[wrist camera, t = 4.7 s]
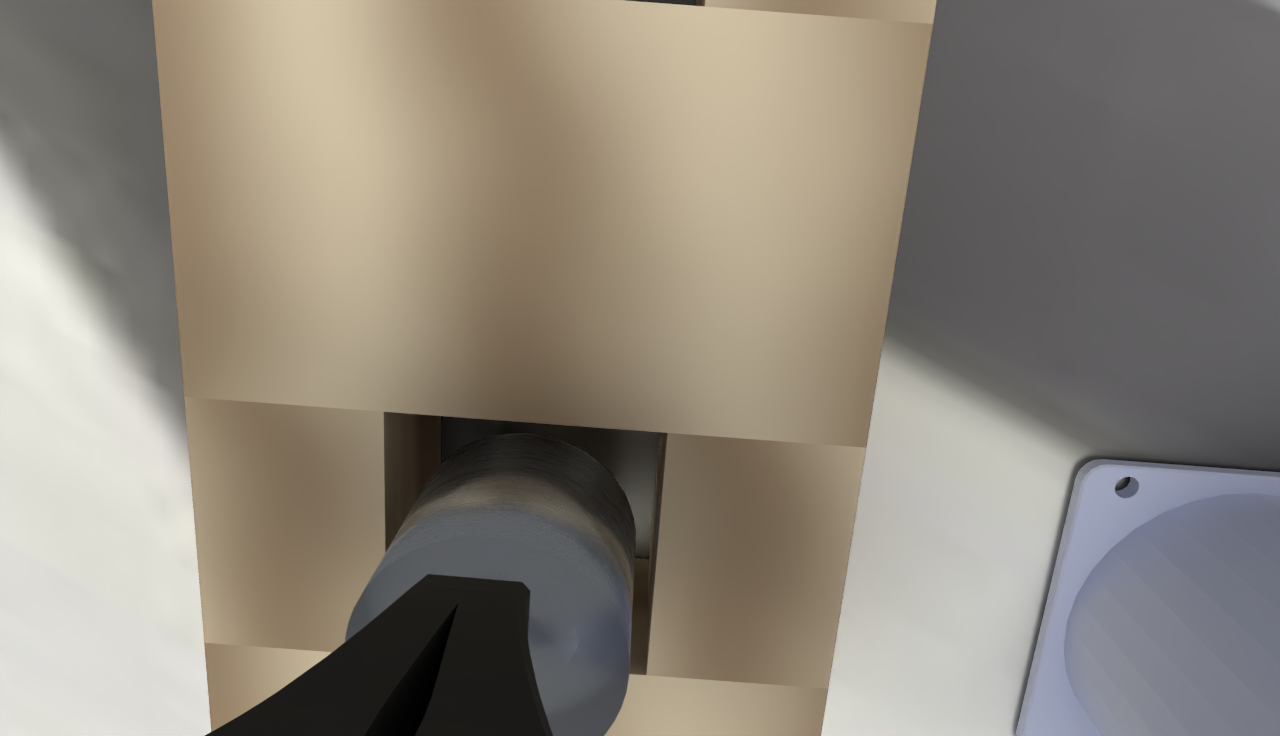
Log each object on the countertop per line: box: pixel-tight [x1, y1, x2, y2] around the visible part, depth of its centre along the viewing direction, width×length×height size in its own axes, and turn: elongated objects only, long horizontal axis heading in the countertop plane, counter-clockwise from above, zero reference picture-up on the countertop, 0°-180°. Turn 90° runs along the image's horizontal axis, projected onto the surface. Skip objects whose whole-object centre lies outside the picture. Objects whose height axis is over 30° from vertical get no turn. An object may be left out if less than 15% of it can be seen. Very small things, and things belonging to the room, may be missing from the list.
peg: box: [345, 433, 636, 736], centre depth 15 cm, size 4×4×4 cm
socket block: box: [152, 0, 937, 736], centre depth 17 cm, size 12×24×4 cm, turn 176°
